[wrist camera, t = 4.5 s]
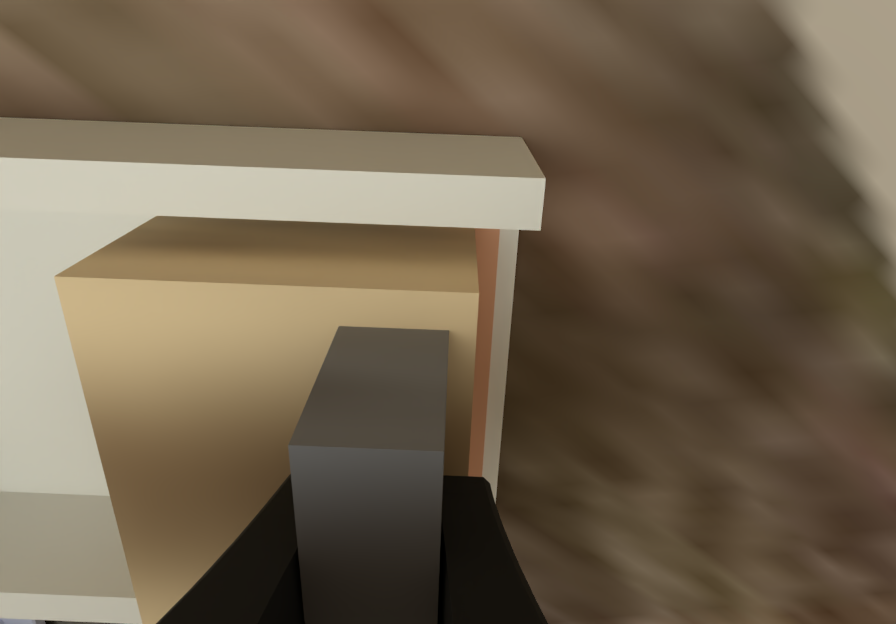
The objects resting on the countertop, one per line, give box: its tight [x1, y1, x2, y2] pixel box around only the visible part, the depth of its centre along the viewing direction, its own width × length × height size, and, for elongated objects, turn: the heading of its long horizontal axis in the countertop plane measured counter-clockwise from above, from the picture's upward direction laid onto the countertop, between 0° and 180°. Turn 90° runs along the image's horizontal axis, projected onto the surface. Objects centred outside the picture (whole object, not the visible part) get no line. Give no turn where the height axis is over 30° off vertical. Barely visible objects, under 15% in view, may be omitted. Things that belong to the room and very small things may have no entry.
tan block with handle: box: [54, 216, 479, 624], centre depth 11 cm, size 7×6×7 cm
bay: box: [0, 117, 546, 624], centre depth 13 cm, size 10×14×4 cm
